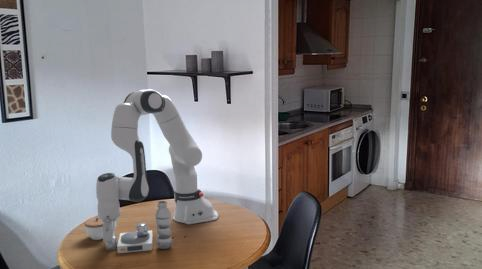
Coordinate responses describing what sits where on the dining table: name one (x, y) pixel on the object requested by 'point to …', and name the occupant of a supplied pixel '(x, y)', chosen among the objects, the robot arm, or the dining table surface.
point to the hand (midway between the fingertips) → (111, 243)
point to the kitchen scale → (134, 242)
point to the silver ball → (142, 230)
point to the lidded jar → (94, 228)
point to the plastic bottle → (163, 226)
